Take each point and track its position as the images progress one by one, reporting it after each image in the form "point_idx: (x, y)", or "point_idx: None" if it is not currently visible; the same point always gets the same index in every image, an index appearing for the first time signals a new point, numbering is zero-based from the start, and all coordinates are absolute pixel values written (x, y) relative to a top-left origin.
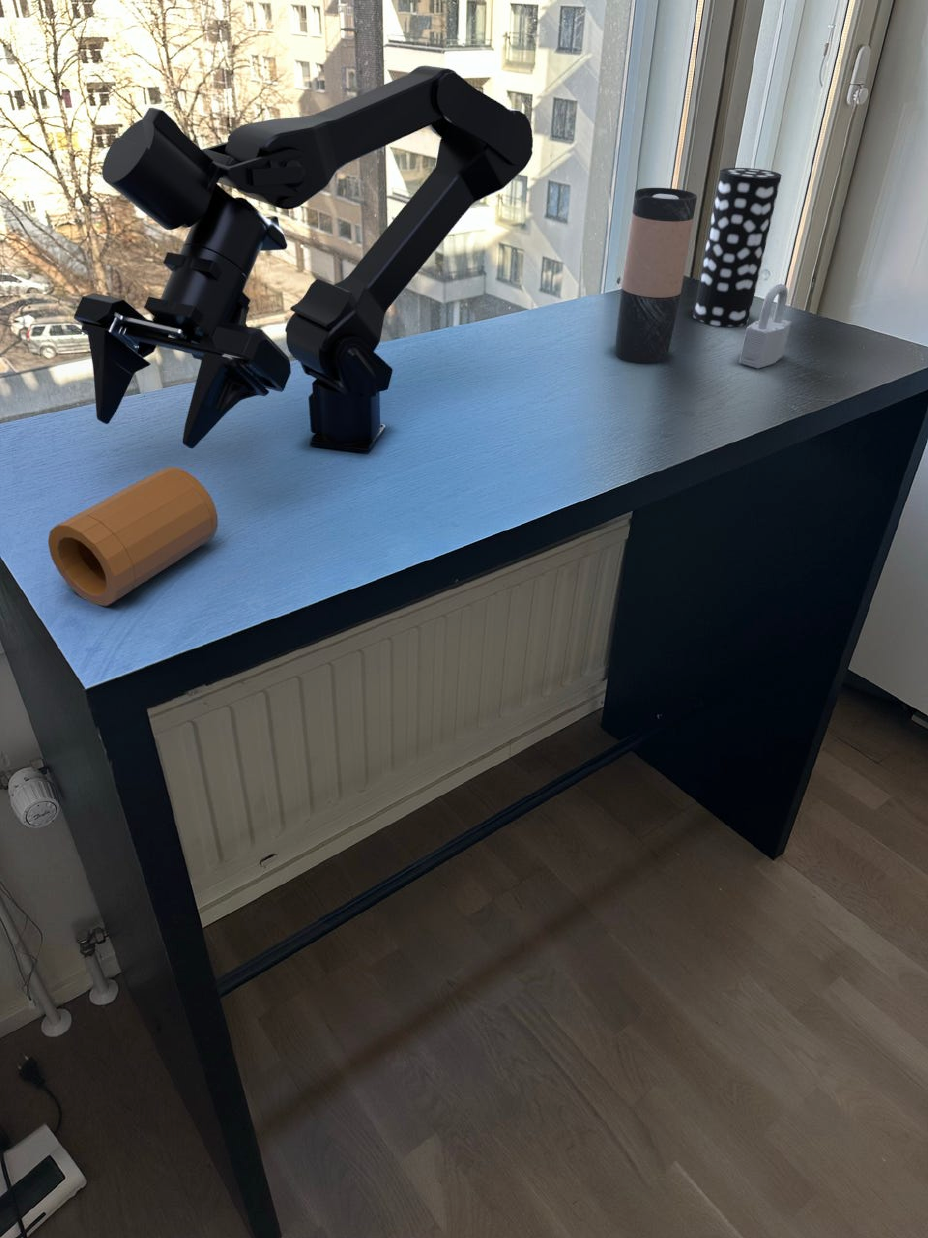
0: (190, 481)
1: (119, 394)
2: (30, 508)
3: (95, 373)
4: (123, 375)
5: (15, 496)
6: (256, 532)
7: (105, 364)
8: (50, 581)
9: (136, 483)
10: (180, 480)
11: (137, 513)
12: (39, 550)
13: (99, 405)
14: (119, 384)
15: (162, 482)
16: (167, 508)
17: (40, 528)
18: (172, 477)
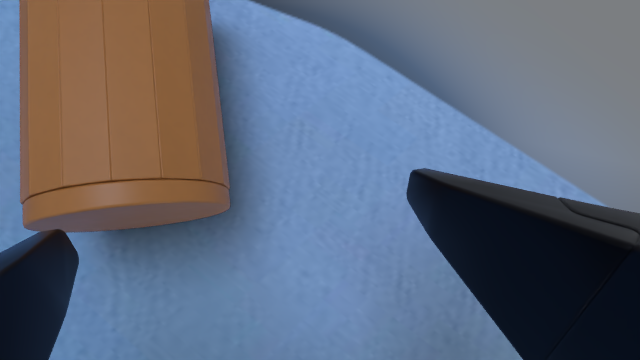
0: (43, 195)
1: (466, 266)
2: (441, 127)
3: (558, 202)
4: (529, 321)
5: (486, 135)
6: (82, 325)
7: (570, 237)
8: (243, 25)
9: (148, 99)
10: (55, 172)
11: (38, 21)
12: (326, 65)
13: (440, 176)
14: (494, 281)
15: (78, 129)
16: (25, 95)
17: (379, 102)
18: (77, 162)
